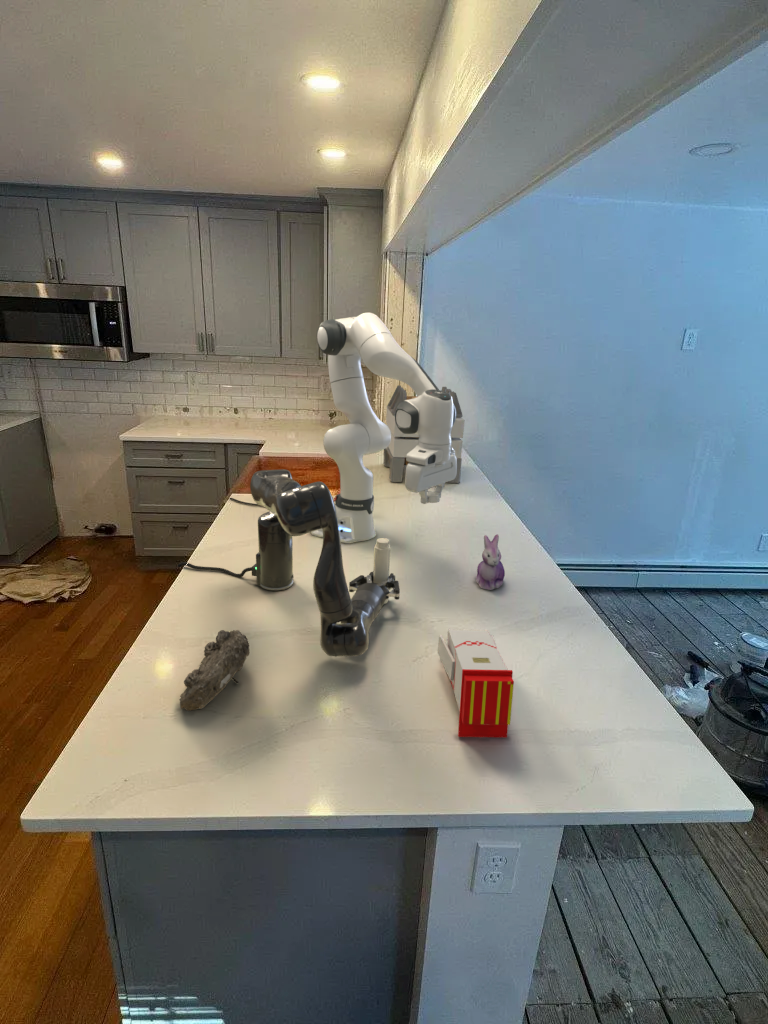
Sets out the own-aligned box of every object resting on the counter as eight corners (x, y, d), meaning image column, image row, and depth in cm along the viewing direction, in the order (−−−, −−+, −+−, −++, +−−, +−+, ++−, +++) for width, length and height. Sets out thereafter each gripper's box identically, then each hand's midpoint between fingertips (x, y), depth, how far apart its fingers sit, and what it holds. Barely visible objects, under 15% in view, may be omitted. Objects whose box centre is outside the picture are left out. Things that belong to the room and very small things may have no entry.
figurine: (487, 593, 160) (493, 544, 155) (466, 578, 168) (471, 531, 163) (513, 587, 164) (520, 540, 159) (491, 573, 172) (497, 527, 167)
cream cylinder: (390, 600, 154) (394, 540, 148) (381, 606, 151) (383, 544, 145) (378, 595, 156) (381, 536, 150) (369, 601, 153) (371, 540, 147)
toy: (488, 613, 130) (523, 677, 101) (484, 667, 133) (517, 744, 104) (435, 612, 130) (455, 676, 101) (432, 666, 133) (451, 743, 103)
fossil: (201, 632, 127) (249, 601, 122) (231, 661, 130) (278, 632, 125) (157, 704, 108) (212, 671, 103) (193, 736, 111) (248, 705, 106)
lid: (420, 501, 156) (420, 494, 155) (425, 496, 160) (426, 490, 159) (436, 503, 154) (436, 497, 154) (441, 499, 158) (441, 492, 158)
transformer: (382, 463, 289) (386, 382, 275) (445, 464, 293) (451, 384, 279) (390, 482, 257) (394, 392, 243) (460, 483, 261) (468, 394, 247)
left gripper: (395, 595, 136) (409, 566, 151) (338, 586, 139) (358, 558, 154) (393, 622, 138) (408, 591, 154) (337, 613, 141) (358, 583, 157)
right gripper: (445, 444, 162) (441, 490, 167) (402, 456, 147) (399, 506, 152) (464, 448, 159) (460, 495, 163) (422, 460, 143) (418, 512, 148)
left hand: (383, 575), depth 154 cm, fingers closed on cream cylinder, 4 cm apart
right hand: (430, 500), depth 157 cm, fingers closed on lid, 4 cm apart
